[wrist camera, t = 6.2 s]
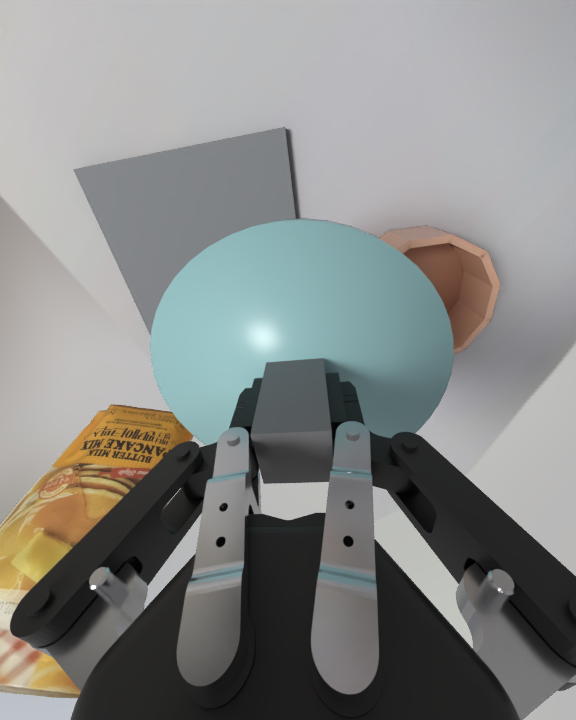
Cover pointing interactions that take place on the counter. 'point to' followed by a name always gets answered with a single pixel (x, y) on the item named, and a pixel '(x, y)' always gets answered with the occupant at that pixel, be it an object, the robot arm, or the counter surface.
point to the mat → (185, 204)
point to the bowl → (453, 277)
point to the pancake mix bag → (71, 524)
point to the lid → (300, 340)
